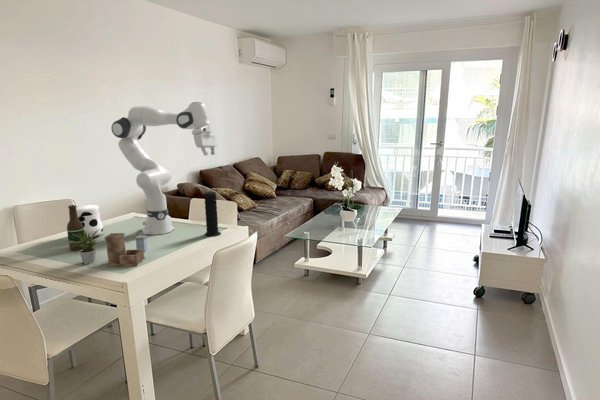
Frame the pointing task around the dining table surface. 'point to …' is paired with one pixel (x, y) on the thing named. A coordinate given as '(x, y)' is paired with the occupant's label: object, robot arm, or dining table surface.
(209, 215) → the handle grip
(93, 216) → the milk container
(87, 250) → the house plant
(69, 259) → the dining table surface
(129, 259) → the brown l-shaped block
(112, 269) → the dining table surface
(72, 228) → the beer bottle
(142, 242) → the rail end
